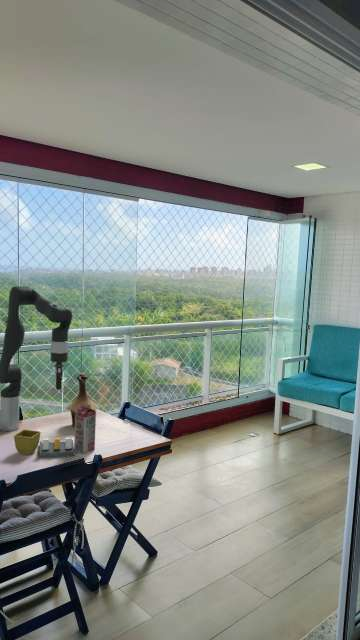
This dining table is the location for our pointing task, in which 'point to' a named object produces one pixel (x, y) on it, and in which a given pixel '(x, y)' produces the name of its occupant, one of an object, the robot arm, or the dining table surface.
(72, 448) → the panel
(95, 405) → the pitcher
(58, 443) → the tab mid
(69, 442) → the tab right
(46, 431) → the dining table surface
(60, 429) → the dining table surface
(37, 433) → the flower pot
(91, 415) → the juice carton
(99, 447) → the dining table surface
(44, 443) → the tab left
